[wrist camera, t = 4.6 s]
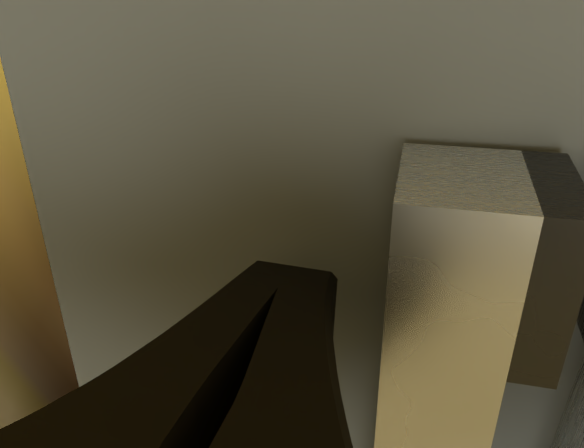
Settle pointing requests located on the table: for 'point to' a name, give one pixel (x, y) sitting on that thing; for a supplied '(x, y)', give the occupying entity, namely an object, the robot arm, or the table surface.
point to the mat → (271, 153)
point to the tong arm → (476, 289)
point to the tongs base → (573, 407)
